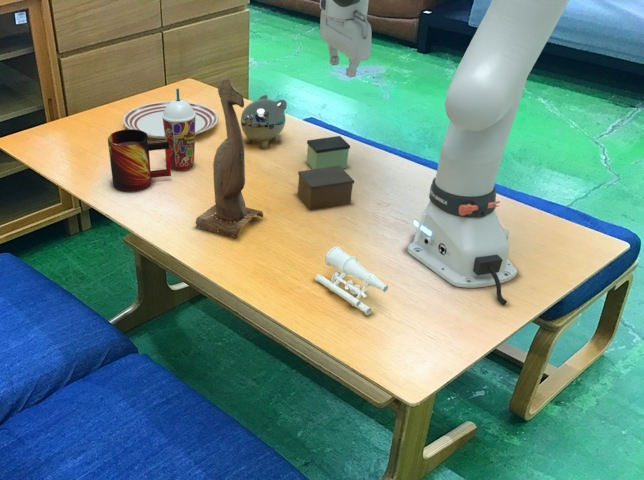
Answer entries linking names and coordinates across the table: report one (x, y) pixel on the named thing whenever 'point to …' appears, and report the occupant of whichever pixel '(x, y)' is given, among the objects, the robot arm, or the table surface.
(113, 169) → the mug
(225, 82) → the bird sculpture
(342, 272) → the white tapered barrel part
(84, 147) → the table surface
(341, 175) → the walnut box
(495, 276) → the robot arm
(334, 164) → the green lidded box
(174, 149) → the smoothie
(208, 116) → the dinner plate
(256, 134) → the piggy bank
